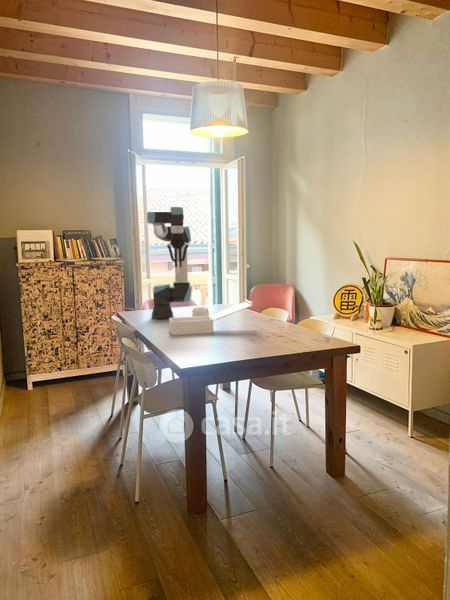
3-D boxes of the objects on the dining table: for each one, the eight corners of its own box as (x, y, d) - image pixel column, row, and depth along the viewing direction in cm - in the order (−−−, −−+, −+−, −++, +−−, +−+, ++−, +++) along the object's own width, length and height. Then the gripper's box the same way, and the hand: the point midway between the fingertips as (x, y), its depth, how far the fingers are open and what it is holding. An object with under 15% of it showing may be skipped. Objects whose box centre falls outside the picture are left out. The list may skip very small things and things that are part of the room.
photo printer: (209, 325, 280) (208, 306, 278) (208, 327, 276) (208, 307, 274) (193, 325, 281) (192, 306, 279) (192, 327, 277) (191, 307, 275)
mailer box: (169, 331, 265) (169, 318, 264) (208, 328, 270) (208, 315, 269) (172, 335, 252) (171, 322, 251) (213, 333, 258) (213, 319, 257)
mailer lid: (245, 299, 274) (246, 302, 274) (208, 313, 269) (209, 316, 270) (252, 302, 261) (253, 305, 261) (213, 317, 256) (214, 320, 257)
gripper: (167, 233, 258) (168, 273, 261) (189, 232, 261) (190, 273, 264) (165, 233, 265) (166, 272, 268) (187, 233, 268) (188, 272, 271)
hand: (178, 272), depth 266 cm, fingers closed
